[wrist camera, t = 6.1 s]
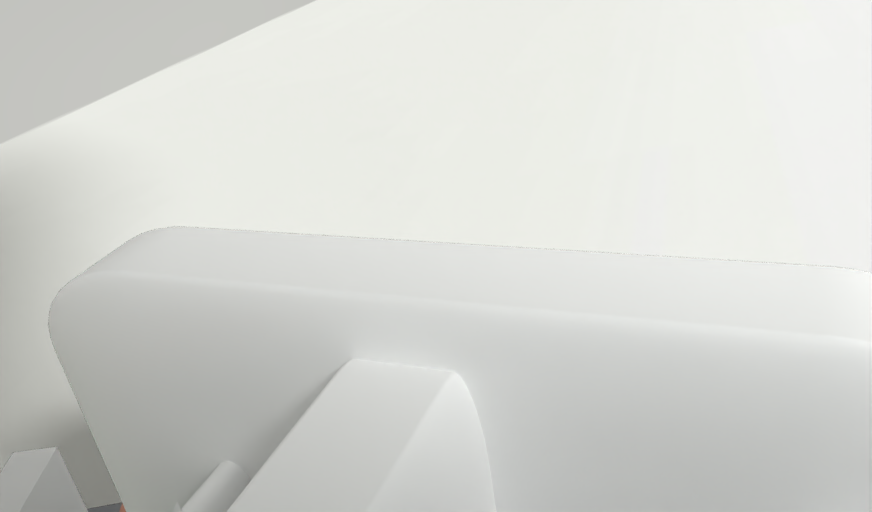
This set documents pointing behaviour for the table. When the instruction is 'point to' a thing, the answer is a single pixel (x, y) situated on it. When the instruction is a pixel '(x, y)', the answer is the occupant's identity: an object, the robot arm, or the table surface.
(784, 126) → the table surface
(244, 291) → the cable organizer
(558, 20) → the table surface
